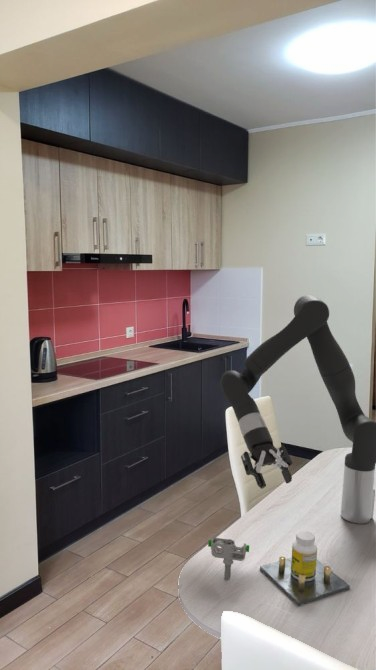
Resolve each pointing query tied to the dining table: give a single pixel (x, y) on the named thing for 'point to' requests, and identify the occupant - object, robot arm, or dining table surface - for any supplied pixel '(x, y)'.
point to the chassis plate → (310, 586)
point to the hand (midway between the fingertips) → (276, 484)
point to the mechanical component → (227, 553)
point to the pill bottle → (304, 555)
